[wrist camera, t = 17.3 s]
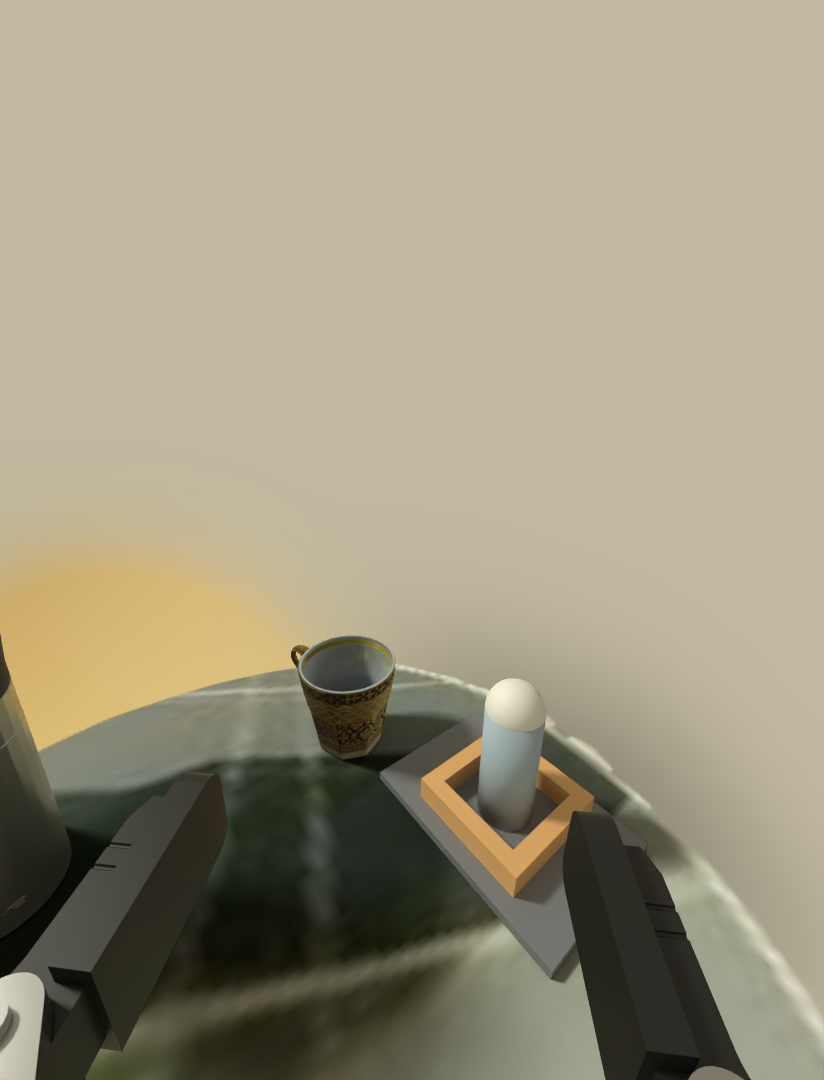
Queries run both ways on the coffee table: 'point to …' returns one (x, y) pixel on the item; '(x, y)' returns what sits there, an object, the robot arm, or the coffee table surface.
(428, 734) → the coffee table surface
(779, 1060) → the coffee table surface
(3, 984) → the robot arm
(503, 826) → the pale grey cylinder
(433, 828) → the jig
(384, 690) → the ceramic cup
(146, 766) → the coffee table surface
